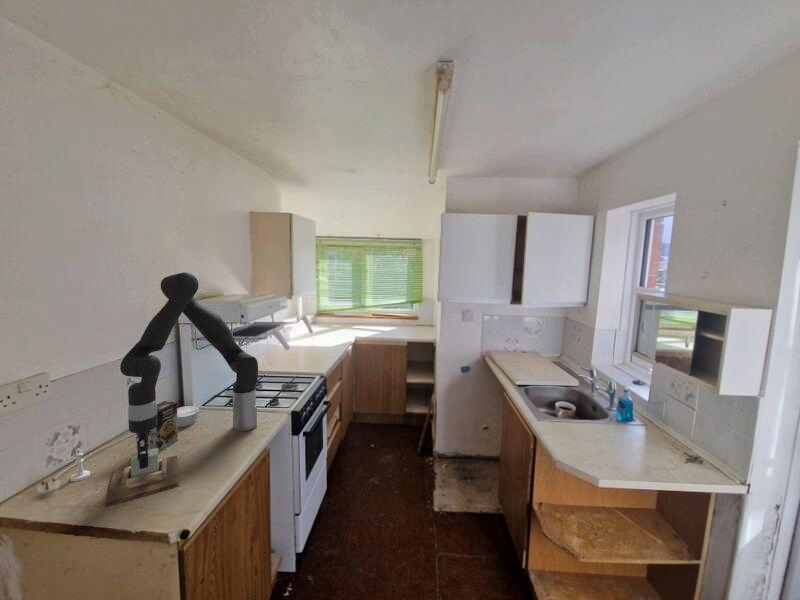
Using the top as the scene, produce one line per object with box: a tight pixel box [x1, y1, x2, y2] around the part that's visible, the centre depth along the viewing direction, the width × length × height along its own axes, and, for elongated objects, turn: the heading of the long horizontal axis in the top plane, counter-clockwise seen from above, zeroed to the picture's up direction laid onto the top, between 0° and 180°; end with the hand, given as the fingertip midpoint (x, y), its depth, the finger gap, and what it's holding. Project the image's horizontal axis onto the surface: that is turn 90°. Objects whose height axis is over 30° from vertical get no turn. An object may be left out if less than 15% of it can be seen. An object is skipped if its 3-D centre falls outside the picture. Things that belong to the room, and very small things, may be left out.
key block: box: [130, 448, 160, 478], centre depth 111 cm, size 4×7×8 cm, turn 124°
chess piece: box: [69, 447, 91, 482], centre depth 110 cm, size 5×5×10 cm
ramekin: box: [177, 405, 200, 428], centre depth 150 cm, size 11×11×5 cm
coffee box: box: [150, 400, 179, 453], centre depth 131 cm, size 9×6×16 cm
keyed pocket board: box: [105, 454, 179, 507], centre depth 111 cm, size 18×18×4 cm
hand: (144, 460), depth 110 cm, fingers open, 8 cm apart
